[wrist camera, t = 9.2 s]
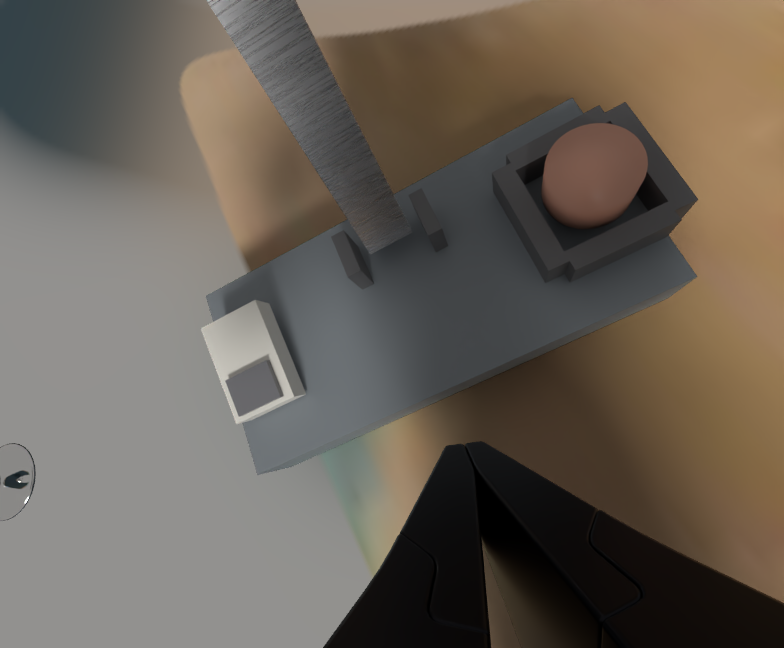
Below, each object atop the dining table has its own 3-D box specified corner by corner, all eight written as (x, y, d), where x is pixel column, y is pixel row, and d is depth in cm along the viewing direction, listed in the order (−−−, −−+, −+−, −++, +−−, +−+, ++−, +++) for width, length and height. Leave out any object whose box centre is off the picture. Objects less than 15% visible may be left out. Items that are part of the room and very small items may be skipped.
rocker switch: (306, 394, 18) (290, 397, 17) (251, 420, 19) (232, 425, 17) (269, 303, 19) (251, 298, 17) (217, 330, 19) (195, 328, 18)
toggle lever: (421, 239, 17) (224, -159, 9) (369, 266, 17) (130, -91, 9) (406, 208, 19) (227, -154, 10) (358, 233, 19) (148, -96, 11)
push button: (652, 202, 15) (668, 178, 14) (567, 244, 16) (573, 225, 14) (605, 135, 16) (615, 106, 14) (526, 176, 16) (527, 152, 15)
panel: (684, 290, 18) (742, 249, 13) (291, 466, 21) (231, 481, 17) (577, 133, 21) (596, 54, 16) (242, 310, 24) (178, 285, 19)
